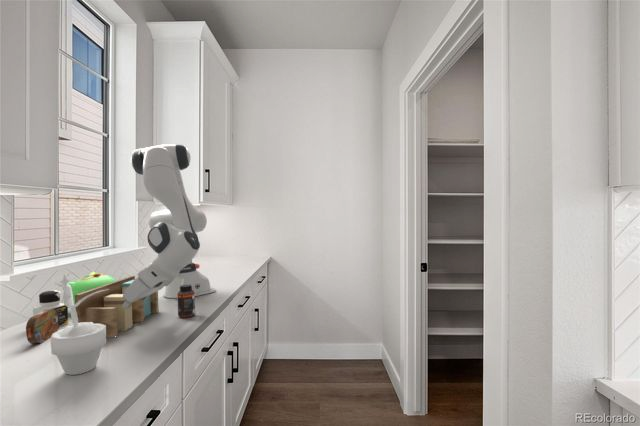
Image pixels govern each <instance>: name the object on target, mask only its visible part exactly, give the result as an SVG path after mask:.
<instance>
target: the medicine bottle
mask: <svg viewBox="0 0 640 426" xmlns="http://www.w3.org/2000/svg"><path fill="white" fill-rule="evenodd" d="M58 291H59V290H54V289H52V290H47V291H43V292H41V293H39V295H38V298H39V299H38V300H39V305H38V306H34V307H33V308H32V312H33V313H32V314H33V315H32V316H34V315H36V314H38V313H40V312H42V311H43V310H47V309H52V308H54V309H56V310H57V311H58V314H59V318H60V323H59V327H62V326H65V325H69V309H68V307H67V306H66V305H65V304H64V302H63V303H61V302H62V292H61V291H59V293H60V294H61V295H60V297H58V296H57V295H56V294H57V293H58Z"/></svg>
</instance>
